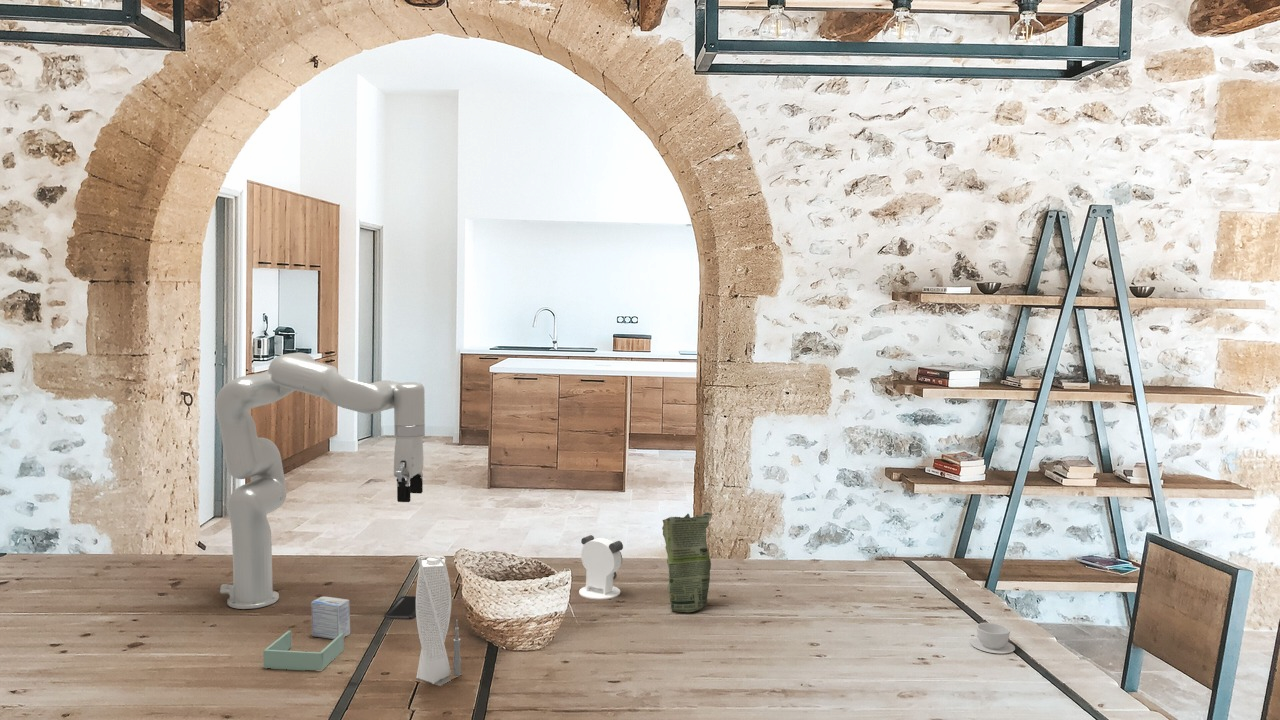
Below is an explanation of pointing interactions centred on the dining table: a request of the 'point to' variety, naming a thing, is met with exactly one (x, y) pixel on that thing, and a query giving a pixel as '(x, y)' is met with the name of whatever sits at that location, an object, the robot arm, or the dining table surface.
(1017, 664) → the dining table surface
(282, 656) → the box
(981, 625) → the teacup
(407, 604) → the phone
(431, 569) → the skyscraper
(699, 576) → the pouch
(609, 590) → the panda figurine
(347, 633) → the medicine box
